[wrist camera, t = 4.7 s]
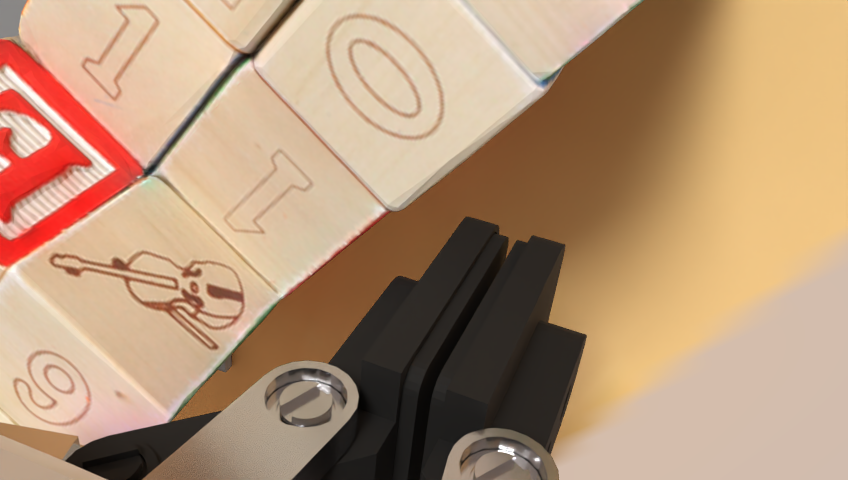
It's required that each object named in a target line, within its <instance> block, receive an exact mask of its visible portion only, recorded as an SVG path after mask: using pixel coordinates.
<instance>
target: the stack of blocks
mask: <svg viewBox="0 0 848 480" xmlns="http://www.w3.org/2000/svg"><path fill="white" fill-rule="evenodd" d="M643 1H644V0H27V2H26V4H25V6H24V8H23V10H22V12H21V18H20V23H19V29H18V30H19V35H18V36H15V37H5V38H1V39H0V422H2V423H7V424H13V425H18V426H24V427H30V428H35V429H41V430H46V431H52V432H57V433H63V434H69V435H74V436H78V438H79V443H80V445H86V444H88V443H89V442H91V441H94V440H97V439H100V438H103V437H106V436H109V435H114V434H118V433H123V432H127V431H132V430H136V429H141V428H146V427H150V426H155V425H159V424H164V423H168V422H171V421H172V420H173V419H174V418H175V417H176V415H177V414H178V413H179V412H180V411H181V410H182V408H183V407H184V406H185V405H186V404H187V403H188V401H189V400H190V399H191V398H192V397H193V396H194V395H195V393H196V392H197V391H198V390H199V389H200V388H201V387H202V385H203V384H204V383H205V382H206V381H207V380H208V379H209V378H210V377H211V376H212V375H213V374H214V373H215V372H216V371H217V370H218V369H219V368H220V366H221V365H222V364H223V363H224V362H225V361H226V360H227V359H228V358H229V357H230V355H231V354H232V353H233V352H234V351H235V350H236V349H237V348H238V347H239V346H240V345H241V343H242V342H243V341H244V340H245V339H246V338H247V337H248V336H249V335H250V334H251V333H252V332H253V331H254V330H255V328H256V327H257V326H258V325H259V324H260V323H261V322H262V321H263V320H264V319H265V318H266V316H267V315H268V314H269V313H270V312H271V310H272V309H273V308H274V307H275V306H276V305H277V303H278V302H279V301H280V300H281V299H283V298H284V297H286V296H288V295H290V294H291V293H292V292H293V291H294V290H295V289H296V288H298V287H299V286H300V285H301V284H303V283H304V282H305V281H306V280H308V279H309V278H310V277H311V276H312V275H314V274H315V273H316V272H317V271H319V270H320V269H321V268H322V267H323V266H325V265H326V264H327V263H328V262H329V261H331V260H332V259H333V258H334V257H336V256H337V255H338V254H339V253H340V252H342V251H343V250H344V249H345V248H346V247H348V246H349V245H350V244H351V243H353V242H354V241H355V240H356V239H358V238H359V237H360V236H361V235H363V234H364V233H365V232H366V231H368V230H369V229H370V228H371V227H372V226H374V225H375V224H376V223H377V222H378V221H380V220H381V219H382V218H383V217H384V216H386V215H387V214H388V213H389V212H391V211H400V210H403V209H405V208H406V207H407V206H409V205H410V204H411V203H412V202H414V201H415V200H416V199H417V198H419V197H420V196H421V195H422V194H424V193H425V192H426V191H428V190H429V189H430V188H431V187H433V186H434V185H435V184H436V183H438V182H439V181H440V180H442V179H443V178H444V177H445V176H447V175H448V174H449V173H450V172H452V171H453V170H454V169H456V168H457V167H458V166H459V165H461V164H462V163H463V162H464V161H466V160H467V159H468V158H469V157H470V156H472V155H473V154H474V153H475V152H476V151H478V150H479V149H480V148H481V147H482V146H484V145H485V144H486V143H487V142H488V141H490V140H491V139H492V138H493V137H494V136H496V135H497V134H498V133H499V132H500V131H502V130H503V129H504V128H505V127H506V126H508V125H509V124H510V123H511V122H512V121H514V120H515V119H516V118H517V117H518V116H520V115H521V114H522V113H523V112H524V111H526V110H527V109H528V108H529V107H530V106H532V105H533V104H534V103H535V102H536V101H538V100H539V99H540V98H541V97H542V96H543V95H545V94H546V93H547V92H548V91H549V89H550V88H551V86H552V85H553V83H554V82H555V80H556V79H557V78H558V76H559V74H560V73H561V71H562V69H563V67H564V66H565V65H566V64H567V63H568V62H570V61H571V60H572V59H573V58H575V57H576V56H577V55H578V54H579V53H581V52H582V51H583V50H584V49H586V48H587V47H588V46H589V45H590V44H592V43H593V42H594V41H595V40H596V39H598V38H599V37H600V36H601V35H603V34H604V33H605V32H606V31H607V30H609V29H610V28H611V27H612V26H613V25H615V24H616V23H617V22H618V21H619V20H621V19H622V18H623V17H624V16H625V15H627V14H628V13H629V12H630V11H632V10H633V9H634V8H635V7H636V6H638V5H639V4H640V3H641V2H643Z"/></svg>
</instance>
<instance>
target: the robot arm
mask: <svg viewBox="0 0 848 480" xmlns="http://www.w3.org/2000/svg"><path fill="white" fill-rule="evenodd" d="M507 248H508V237H505V236H502V235H499V226H498V225H495V224H492V223H488V222H485V221H482V220H478V219H475V218H471V217H465V218H464V219H463V221H462V222H461V224H460V225H459V226H458V228H457V229H456V230H455V232H454V233H453V235H452V236H451V237H450V239H449V240H448V242H447V243H446V244H445V246H444V247H443V248H442V250H441V251H440V253H439V254H438V255H437V257H436V258H435V259H434V261H433V262H432V264H431V265H430V266H429V268H428V269H427V270H426V272H425V273H424V275H423V276H422V277H421V279H420V280H419V282H418V281H415V280H412V279H409V278H406V277H403V276H398V277H396V278H395V279H394V280H393V281H392V282H391V283H390V285H389V286H388V287H387V289H386V290H385V291H384V292H383V294H382V295H381V296H380V298H379V299H378V300H377V301H376V303H375V304H374V305H373V307H372V308H371V309H370V310H369V312H368V313H367V314H366V316H365V317H364V318H363V319H362V321H361V322H360V323H359V325H358V326H357V327H356V328H355V330H354V331H353V332H352V334H351V335H350V336H349V337H348V339H347V340H346V341H345V343H344V344H343V345H342V346H341V348H340V349H339V350H338V352H337V353H336V354H335V355H334V357H333V358H332V359H331V361H330V362H329V363H328V364H326V363H324V362H316V361H298V362H291V363H288V364H285V365H282V366H279V367H276V368H275V369H273V370H272V371H270V372H269V373H267V374H265V375H264V376H263V377H262V378H261V379H259V380H258V381H257V382H256V383H255V384H254V385H252V386H251V387H250V388H249V389H248V390H247V391H245V392H244V393H243V394H242V395H241V396H240V397H238V398H237V399H236V400H235V401H234V402H232V403H231V404H230V405H229V406H228V407H227V408H225V409H224V410H223V411H219V412H214V413H209V414H205V415H200V416H196V417H191V418H187V419H182V420H178V421H173V422H168V423H164V424H159V425H155V426H150V427H146V428H141V429H136V430H132V431H127V432H123V433H118V434H114V435H109V436H106V437H103V438H100V439H97V440H94V441H91V442H89V443H88V444H86V445H80V443H79V438H78V436H74V435H69V434H63V433H57V432H52V431H46V430H41V429H35V428H30V427H24V426H18V425H13V424H7V423H2V422H0V480H559V474H558V469H557V467H556V465H555V462H554V460H553V458H552V456H551V455H550V454H551V451H552V448H553V446H554V443H555V440H556V437H557V434H558V431H559V428H560V426H561V423H562V420H563V417H564V414H565V411H566V408H567V404H568V401H569V398H570V395H571V392H572V388H573V385H574V382H575V378H576V375H577V371H578V367H579V364H580V360H581V356H582V353H583V349H584V345H585V341H586V337H587V335H585V334H582V333H579V332H576V331H572V330H569V329H566V328H563V327H560V326H557V325H554V324H550V323H548V320H549V315H550V311H551V307H552V303H553V298H554V294H555V290H556V286H557V281H558V277H559V273H560V269H561V264H562V260H563V256H564V251H565V245H564V244H561V243H558V242H554V241H551V240H547V239H544V238H540V237H537V236H531V238H530V240H529V241H528V243H526V242H523V241H519V240H517V241H516V243H515V244H514V246H513V248H512V250H511V251H510V253H509V255H508V256H507V258H506V253H507ZM505 259H506V260H505Z"/></svg>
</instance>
